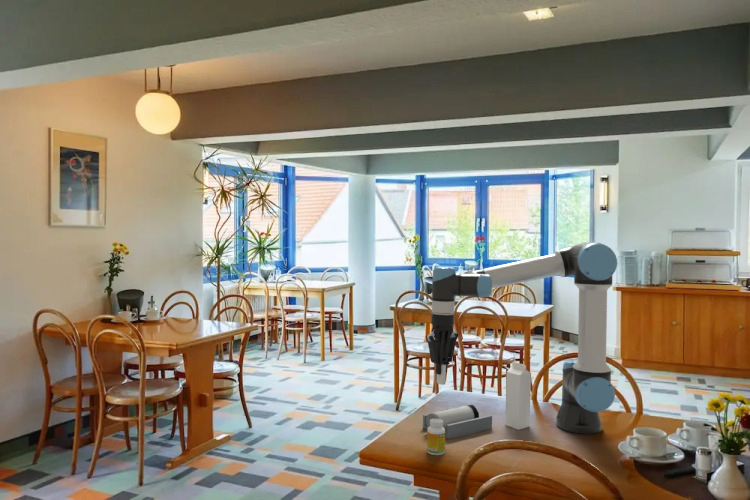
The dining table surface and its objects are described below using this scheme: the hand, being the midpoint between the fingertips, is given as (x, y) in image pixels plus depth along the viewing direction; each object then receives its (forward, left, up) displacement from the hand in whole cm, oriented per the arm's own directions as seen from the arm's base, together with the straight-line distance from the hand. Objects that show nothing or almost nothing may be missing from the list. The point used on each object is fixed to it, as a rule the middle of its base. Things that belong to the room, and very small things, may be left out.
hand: (441, 383), depth 192 cm
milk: (-9, -28, -17) cm, 34 cm away
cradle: (0, -8, -16) cm, 18 cm away
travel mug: (0, +4, -13) cm, 13 cm away
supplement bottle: (-13, +13, -17) cm, 25 cm away
